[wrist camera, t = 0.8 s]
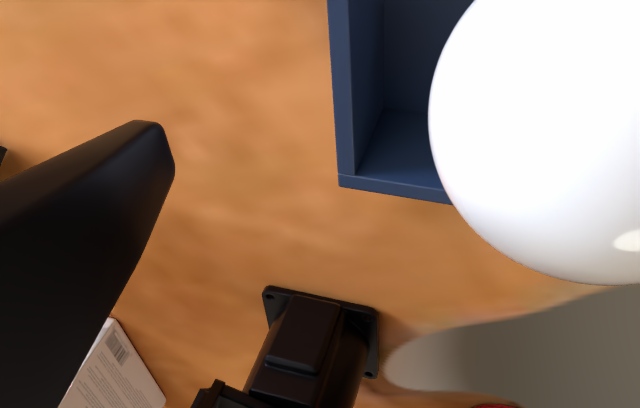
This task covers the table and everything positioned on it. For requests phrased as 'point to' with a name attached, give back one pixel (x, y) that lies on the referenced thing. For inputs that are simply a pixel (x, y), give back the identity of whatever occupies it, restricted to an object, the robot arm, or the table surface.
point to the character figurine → (2, 153)
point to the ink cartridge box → (113, 375)
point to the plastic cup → (493, 406)
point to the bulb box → (387, 92)
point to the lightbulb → (545, 133)
